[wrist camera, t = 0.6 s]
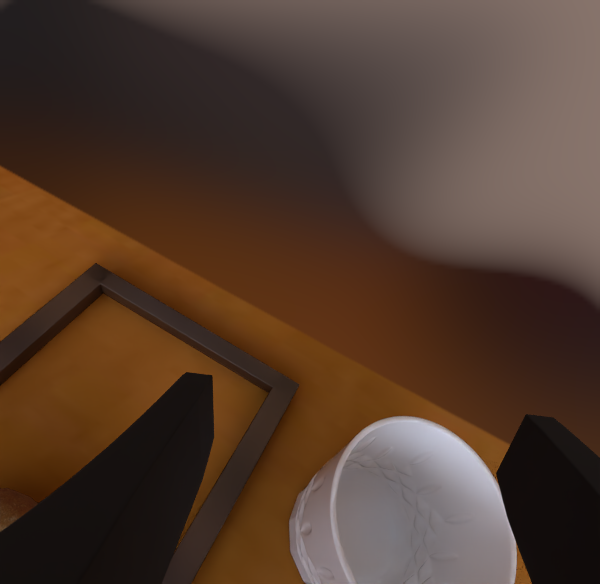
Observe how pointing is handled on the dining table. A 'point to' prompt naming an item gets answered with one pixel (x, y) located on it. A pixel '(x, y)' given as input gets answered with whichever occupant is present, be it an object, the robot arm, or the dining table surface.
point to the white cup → (403, 512)
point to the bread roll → (13, 506)
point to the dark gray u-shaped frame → (98, 280)
